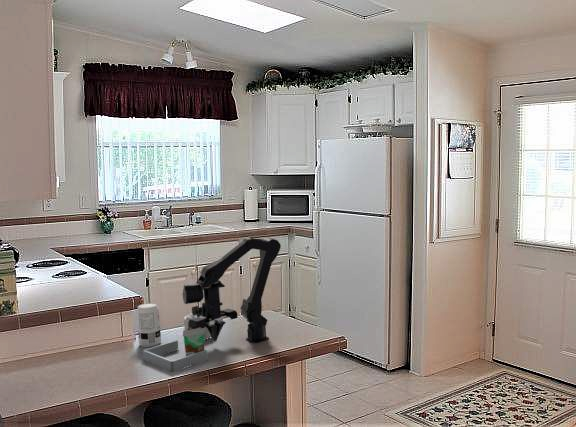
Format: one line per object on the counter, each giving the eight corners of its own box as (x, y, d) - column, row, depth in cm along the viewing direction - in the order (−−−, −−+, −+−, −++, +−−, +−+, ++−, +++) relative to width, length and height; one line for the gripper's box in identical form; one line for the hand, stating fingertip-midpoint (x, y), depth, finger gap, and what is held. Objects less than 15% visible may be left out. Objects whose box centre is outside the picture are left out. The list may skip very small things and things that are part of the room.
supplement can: (134, 345, 227) (132, 306, 226) (153, 339, 233) (150, 301, 232) (147, 349, 222) (144, 309, 220) (165, 343, 228) (162, 304, 226)
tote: (177, 349, 220) (176, 340, 219) (207, 360, 206) (206, 350, 206) (142, 359, 210) (142, 350, 210) (172, 372, 197) (171, 361, 196)
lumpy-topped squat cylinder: (207, 329, 243) (206, 308, 242) (217, 338, 231) (216, 316, 230) (182, 333, 239) (181, 312, 238) (191, 342, 227) (189, 320, 226)
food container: (201, 358, 208) (199, 330, 207) (184, 358, 210) (182, 330, 209) (212, 346, 221) (210, 320, 219) (196, 346, 222) (194, 320, 221)
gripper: (219, 291, 231) (221, 331, 232) (178, 302, 218) (181, 343, 220) (237, 296, 223) (239, 336, 224) (196, 306, 210) (198, 349, 212)
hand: (214, 341), depth 220 cm, fingers closed
